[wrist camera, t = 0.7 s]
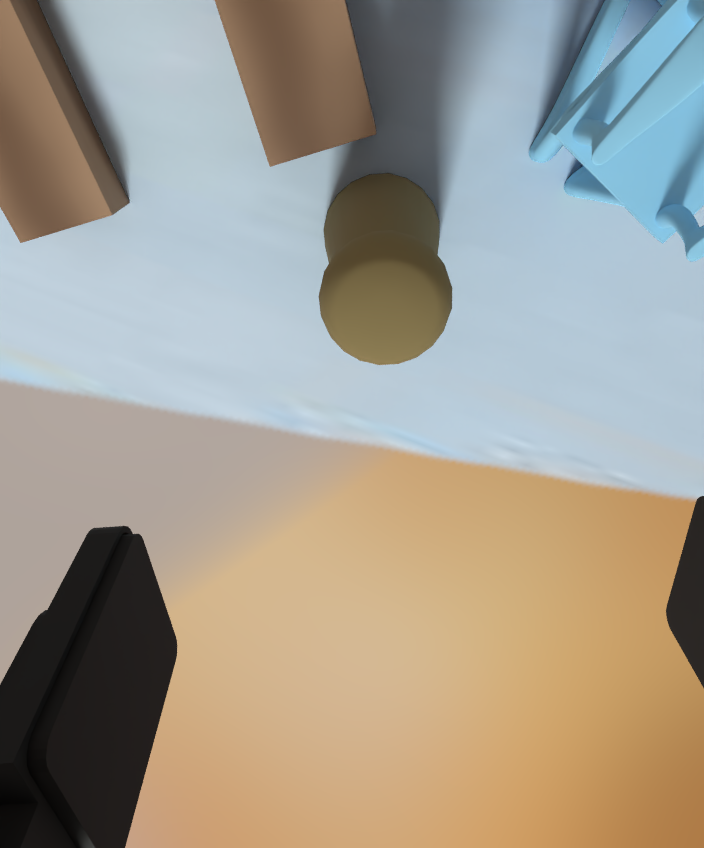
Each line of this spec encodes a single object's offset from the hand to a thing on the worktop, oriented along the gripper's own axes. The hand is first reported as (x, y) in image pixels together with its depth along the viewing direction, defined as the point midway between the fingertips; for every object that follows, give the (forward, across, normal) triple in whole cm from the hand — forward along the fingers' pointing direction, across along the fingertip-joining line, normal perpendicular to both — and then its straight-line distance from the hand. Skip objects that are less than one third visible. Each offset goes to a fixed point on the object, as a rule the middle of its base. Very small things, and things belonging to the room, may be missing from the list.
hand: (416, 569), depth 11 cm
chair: (+24, -12, -5) cm, 27 cm away
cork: (+25, -1, +1) cm, 25 cm away
